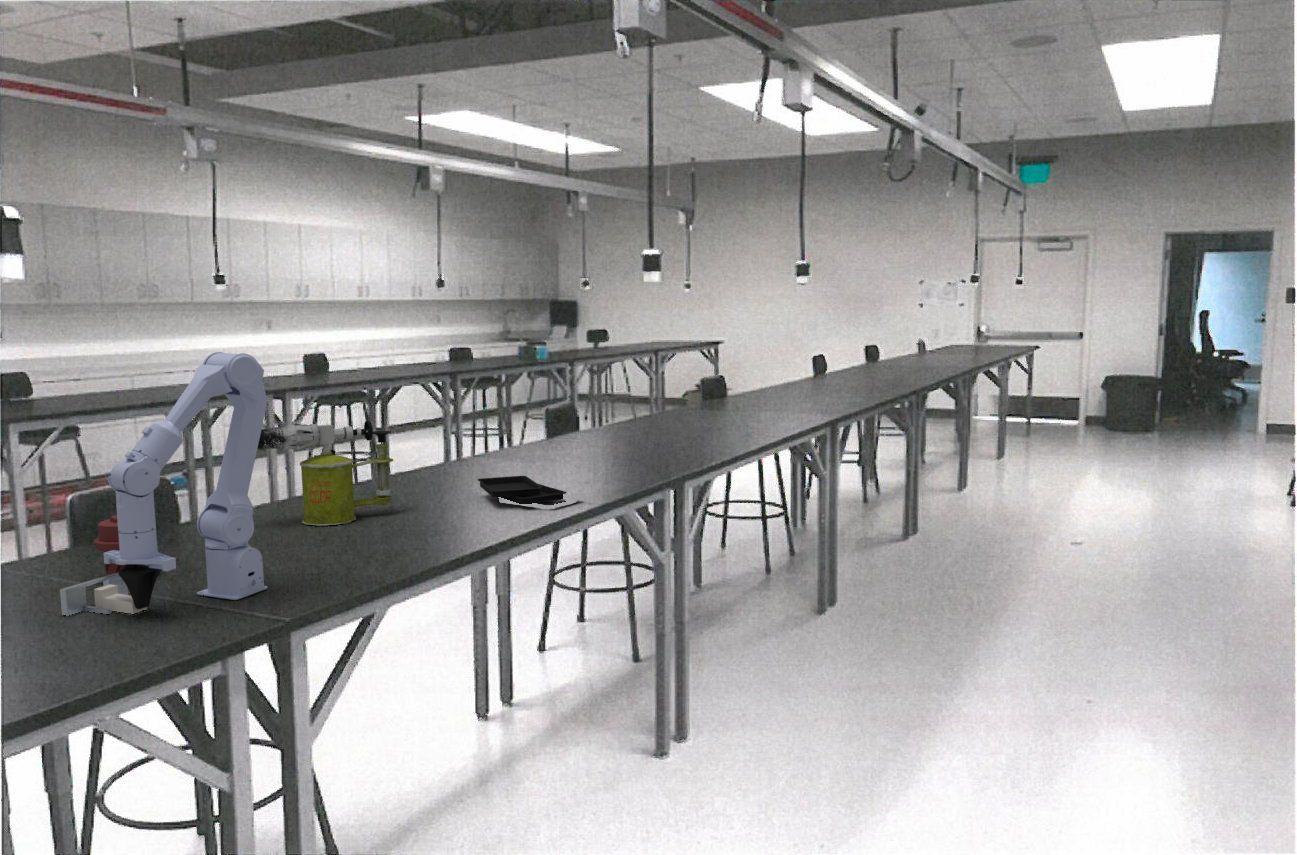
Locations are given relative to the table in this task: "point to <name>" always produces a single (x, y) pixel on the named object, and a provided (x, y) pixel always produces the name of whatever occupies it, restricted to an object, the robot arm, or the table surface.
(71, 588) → the housing
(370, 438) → the blowtorch
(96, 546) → the mechanical component
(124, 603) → the cream l-shaped block
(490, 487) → the tray
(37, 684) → the table surface
